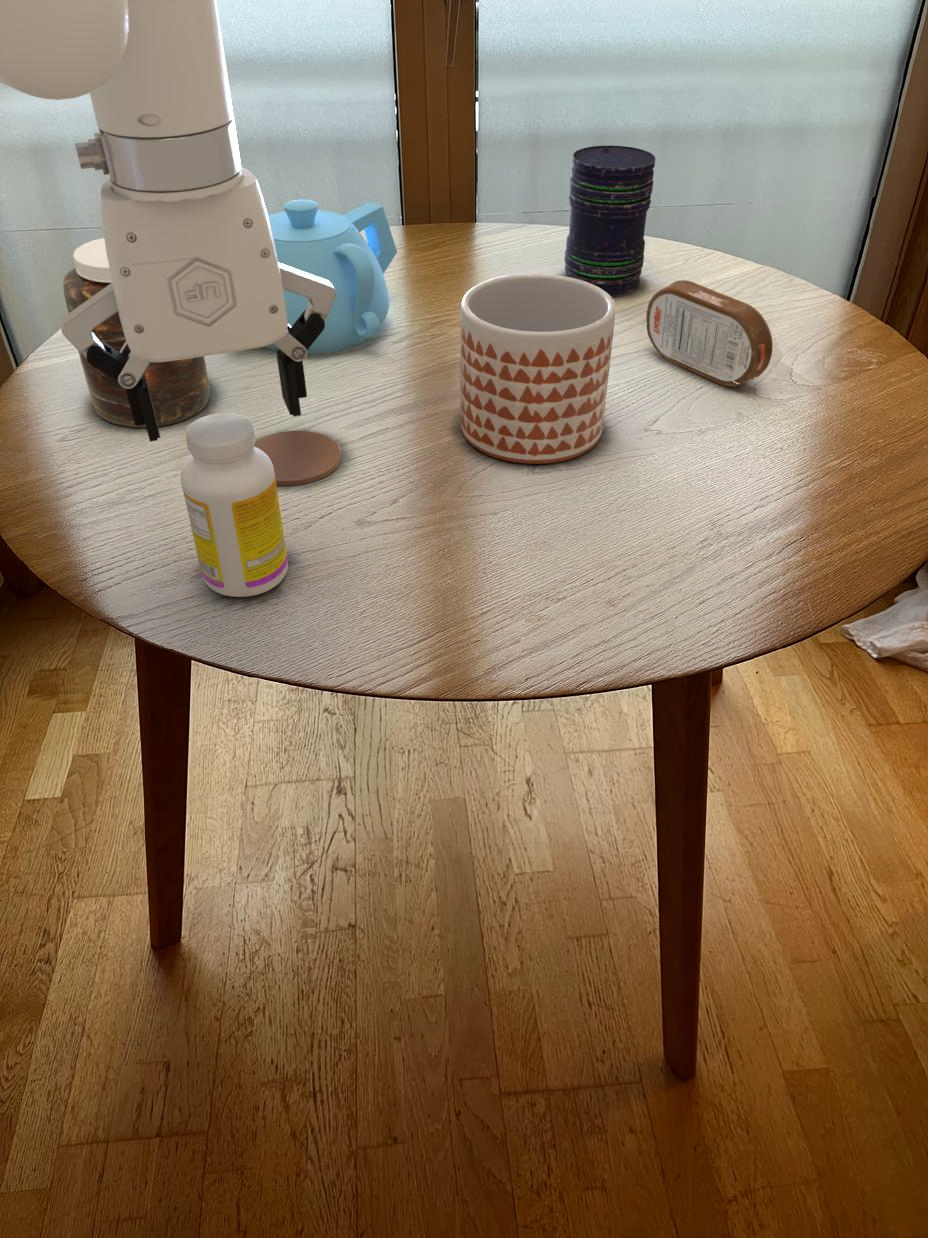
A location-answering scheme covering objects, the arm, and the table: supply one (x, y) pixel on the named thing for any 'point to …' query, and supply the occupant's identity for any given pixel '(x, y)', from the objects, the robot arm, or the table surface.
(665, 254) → the table surface
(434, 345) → the table surface
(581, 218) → the storage jar
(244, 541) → the supplement bottle
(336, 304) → the teapot
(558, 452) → the planter
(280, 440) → the brown coaster
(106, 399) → the jar
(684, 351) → the tin
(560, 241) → the table surface
